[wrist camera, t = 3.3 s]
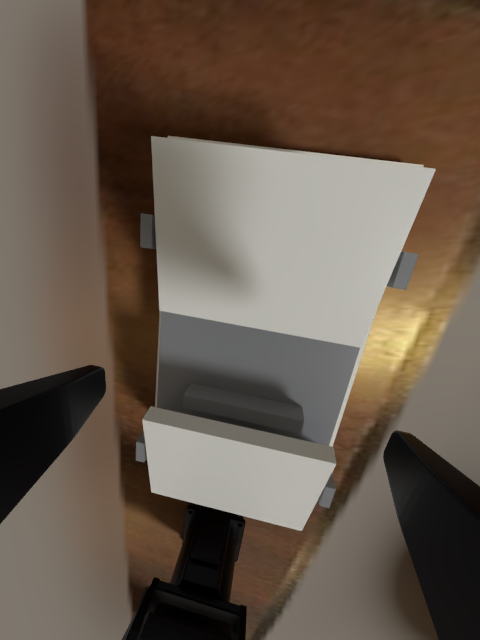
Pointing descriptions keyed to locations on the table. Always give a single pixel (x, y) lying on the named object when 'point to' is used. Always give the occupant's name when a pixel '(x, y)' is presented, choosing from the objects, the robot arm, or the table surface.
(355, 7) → the table surface
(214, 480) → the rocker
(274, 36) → the table surface
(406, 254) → the box
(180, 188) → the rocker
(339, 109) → the table surface
